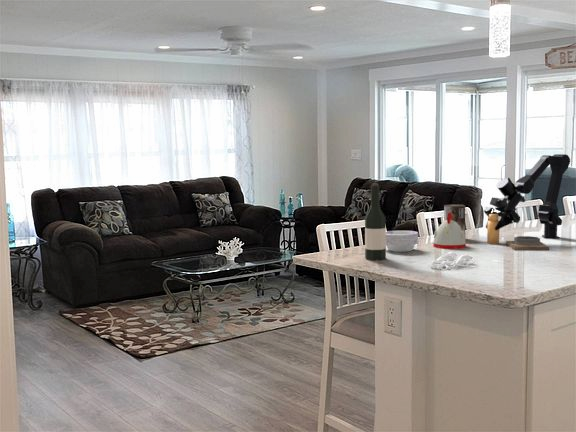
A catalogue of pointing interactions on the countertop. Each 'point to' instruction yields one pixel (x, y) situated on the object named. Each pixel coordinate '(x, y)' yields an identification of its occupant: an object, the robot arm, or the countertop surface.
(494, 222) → the wooden peg doll
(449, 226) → the kitchen timer
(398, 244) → the paper bowls
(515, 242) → the peg board base
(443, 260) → the crumpled white cloth
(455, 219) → the coffee box
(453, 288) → the countertop surface
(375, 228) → the wine bottle
